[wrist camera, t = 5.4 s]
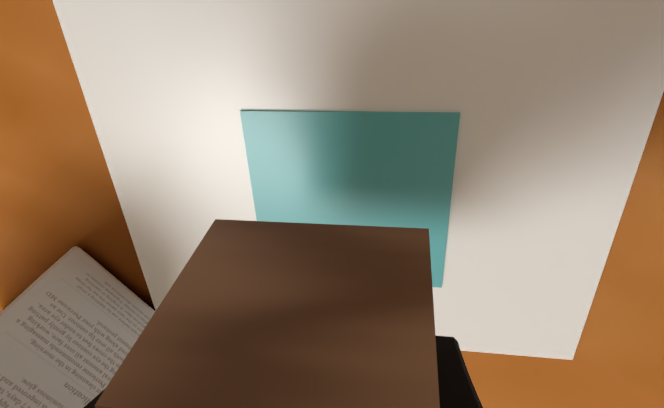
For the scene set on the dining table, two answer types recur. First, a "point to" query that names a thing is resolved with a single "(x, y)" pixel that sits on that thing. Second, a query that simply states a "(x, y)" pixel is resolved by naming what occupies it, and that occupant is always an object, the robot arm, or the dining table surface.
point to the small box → (67, 335)
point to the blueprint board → (385, 136)
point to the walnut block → (290, 323)
